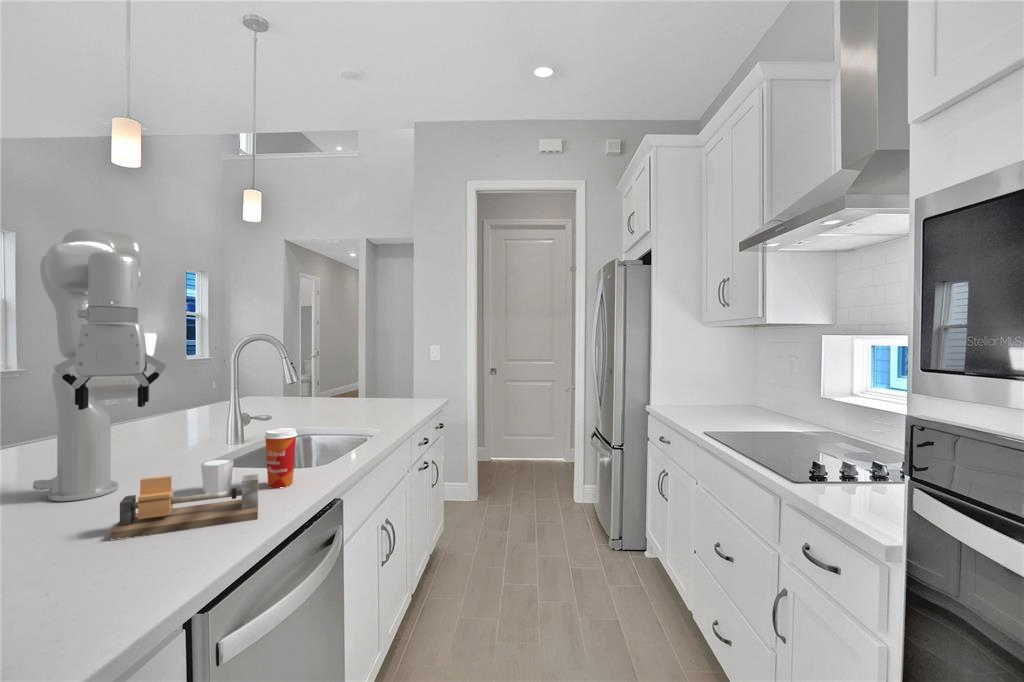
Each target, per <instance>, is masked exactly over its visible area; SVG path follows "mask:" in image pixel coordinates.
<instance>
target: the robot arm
mask: <svg viewBox="0 0 1024 682" xmlns="http://www.w3.org/2000/svg"><path fill="white" fill-rule="evenodd" d="M142 251H143V250H142V247H141V244H140V242H139V241H138V240H137V239H136V238H135V237H134V236H132V235H130V234H126V233H121V232H120V233H118V232H111V231H106V230H105V231H104V230H98V229H88V228H79V229H78V228H77V229H73V230H71V231H69V232H67V233H66V234H65V235H64V236H63V238H62V241H61V242H59V243H55V244H53V245H52V246H51V247H49V249H48V251H47V252H46V254H45V255H44V256H43V257H42V258H41V260H40V264H39V271H40V272H39V273H40V278H41V282H42V286H43V287H44V288H43V289H44V291H45V293H46V295H47V296H48V298H49V300H50V301H51V303H52V306H53V308H54V310H55V316H56V317H55V319H56V332H57V344H58V349H59V351H60V355H61V356H62V357H64V358H65V359H66V360H65V361H62V362H60V363H59V364H56V365H54V366H53V367H54V368H53V369H54V371H53V373H52V376H51V377H52V378H51V382H52V383H51V384H52V388H53V394H54V398H55V406H56V423H57V425H56V430H57V432H56V437H57V438H56V442H57V443H56V446H57V447H56V451H57V452H56V453H57V454H56V455H57V456H56V460H57V461H56V463H57V464H56V477H55V476H54V477H52V478H51V479H40V480H33V483H32V488H33V490H36V491H41V490H50V491H49V492H48V493H47V499H48V500H49V501H53V502H72V501H80V500H86V499H92V498H97V497H102V496H105V495H108V494H111V493H113V492H115V491H117V490H118V489H119V482H117V481H115V480H111V454H112V453H111V446H112V445H111V439H112V438H111V437H112V436H111V435H112V434H111V428H112V426H111V425H112V422H111V416H110V414H108V412H107V411H106V410H105V409H104V408H103V407H101V406H100V405H99V404H98V403H97V402H98V401H106V400H107V401H108V400H121V399H131V398H137V407H139V408H143V407H145V406H146V403H148V402H150V385H151V384H153V382H154V381H156V380H157V379H158V378H159V377H161V375H162V374H163V373H164V371H165V369H167V367H168V364H166V363H165V362H163V361H161V360H159V359H158V358H155V357H153V356H151V355H150V354H148V353H147V344H146V343H147V342H146V337H145V332H144V327H143V325H142V324H139V288H140V287H141V284H142V270H141V268H140V265H141V262H142V259H143V252H142ZM148 364H150V365H152V366H153V367H155V369H154V371H153V372H152V373H151V374H149V375H148V373H147V369H148Z"/></svg>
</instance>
